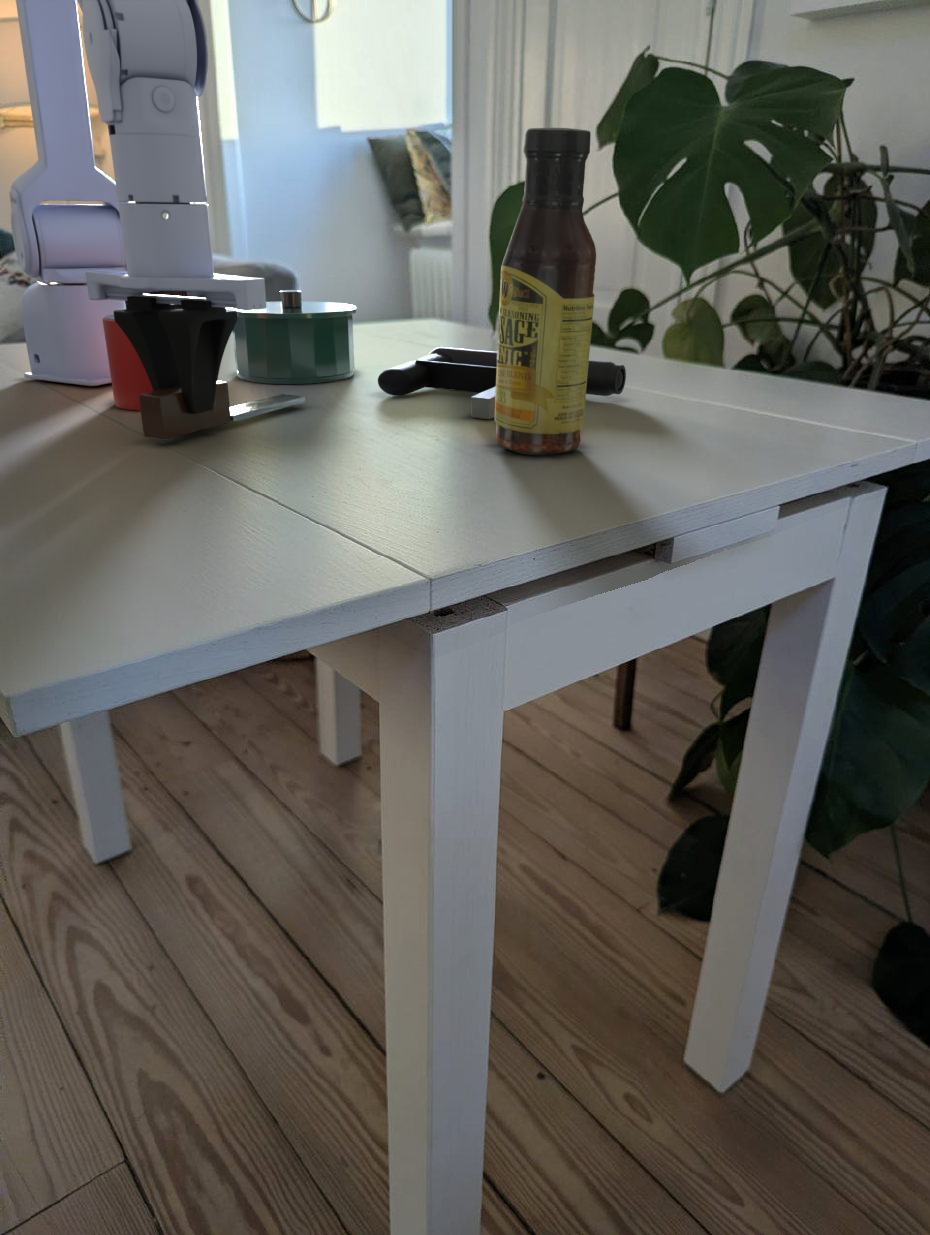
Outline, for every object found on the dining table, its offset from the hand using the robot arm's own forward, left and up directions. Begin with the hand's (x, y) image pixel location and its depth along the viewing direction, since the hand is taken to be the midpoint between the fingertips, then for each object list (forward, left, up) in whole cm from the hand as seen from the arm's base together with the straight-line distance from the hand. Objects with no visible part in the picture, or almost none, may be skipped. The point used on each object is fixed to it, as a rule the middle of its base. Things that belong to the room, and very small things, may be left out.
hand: (186, 409), depth 66 cm
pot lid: (-10, +26, +4) cm, 28 cm away
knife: (0, +4, -1) cm, 5 cm away
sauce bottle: (+24, +9, -2) cm, 26 cm away
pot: (-10, +26, -2) cm, 28 cm away
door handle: (+13, +24, -2) cm, 27 cm away
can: (-11, +8, -2) cm, 14 cm away
